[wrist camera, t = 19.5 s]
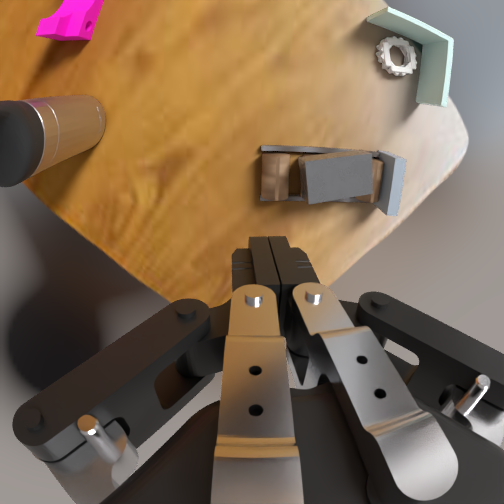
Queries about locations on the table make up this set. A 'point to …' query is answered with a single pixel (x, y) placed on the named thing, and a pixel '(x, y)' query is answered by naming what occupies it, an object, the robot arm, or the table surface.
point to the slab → (335, 176)
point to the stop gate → (391, 183)
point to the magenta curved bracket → (71, 21)
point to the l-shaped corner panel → (430, 46)
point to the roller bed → (278, 173)
